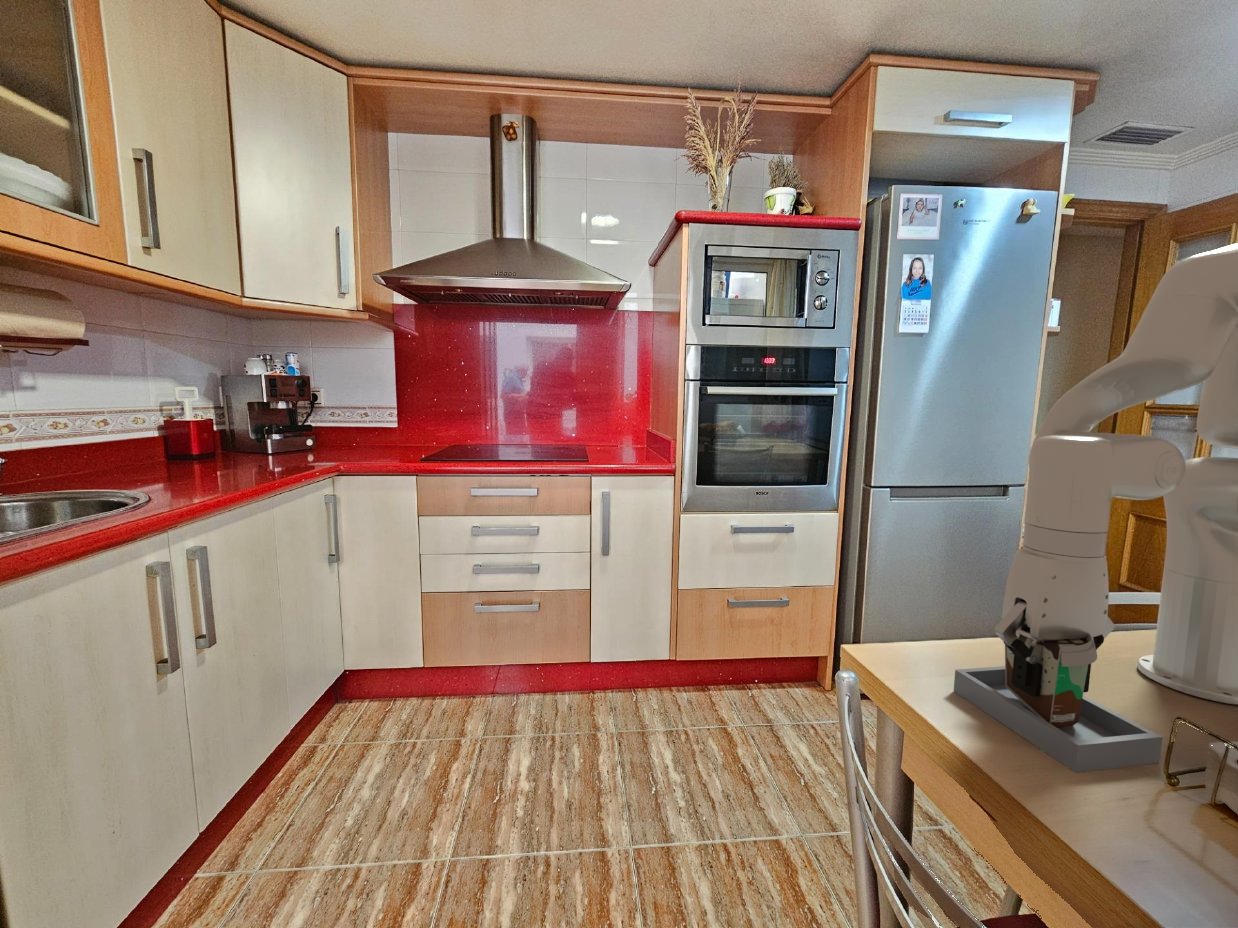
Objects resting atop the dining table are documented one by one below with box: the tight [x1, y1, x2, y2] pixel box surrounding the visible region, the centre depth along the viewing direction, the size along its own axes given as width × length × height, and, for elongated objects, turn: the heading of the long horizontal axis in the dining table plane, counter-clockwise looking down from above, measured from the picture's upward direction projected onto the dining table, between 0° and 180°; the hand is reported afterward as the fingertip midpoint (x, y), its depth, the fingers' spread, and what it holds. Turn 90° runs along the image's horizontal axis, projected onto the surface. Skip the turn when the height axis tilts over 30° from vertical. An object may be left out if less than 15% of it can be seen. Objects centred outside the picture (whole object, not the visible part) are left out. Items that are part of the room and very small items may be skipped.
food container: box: [1004, 629, 1098, 728], centre depth 65 cm, size 12×6×10 cm, turn 171°
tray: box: [953, 665, 1163, 773], centre depth 66 cm, size 11×17×3 cm, turn 9°
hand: (1049, 687), depth 65 cm, fingers closed on food container, 5 cm apart
